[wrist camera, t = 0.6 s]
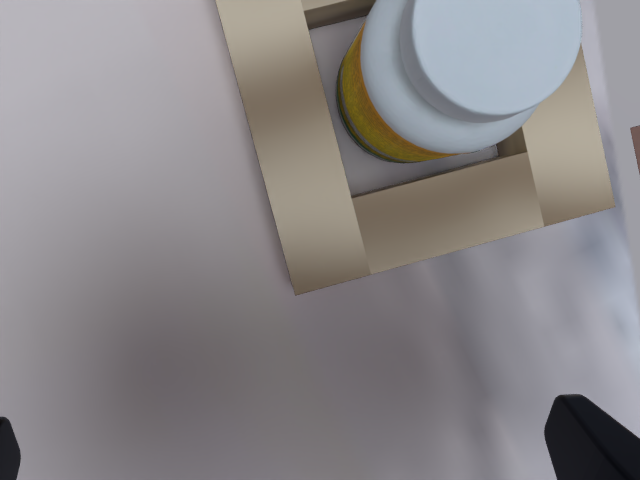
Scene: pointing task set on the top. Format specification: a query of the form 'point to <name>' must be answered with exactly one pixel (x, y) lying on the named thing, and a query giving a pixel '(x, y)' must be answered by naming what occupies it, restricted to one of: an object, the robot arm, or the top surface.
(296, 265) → the socket block
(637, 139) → the terracotta tile
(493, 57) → the supplement bottle
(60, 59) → the top surface
